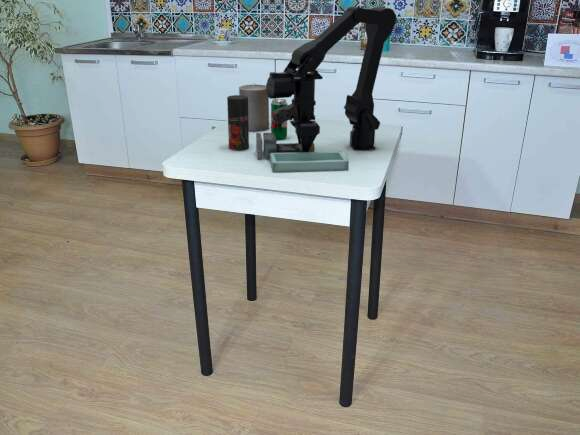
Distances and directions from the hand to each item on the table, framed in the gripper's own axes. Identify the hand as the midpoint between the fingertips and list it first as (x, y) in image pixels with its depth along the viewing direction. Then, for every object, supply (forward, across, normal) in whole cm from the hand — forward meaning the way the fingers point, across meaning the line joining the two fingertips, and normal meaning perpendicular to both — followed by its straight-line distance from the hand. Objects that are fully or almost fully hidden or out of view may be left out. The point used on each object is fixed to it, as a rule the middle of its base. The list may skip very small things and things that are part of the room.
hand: (302, 150), depth 157 cm
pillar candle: (+1, -31, -12) cm, 33 cm away
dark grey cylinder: (+1, 0, -4) cm, 4 cm away
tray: (+1, +10, 0) cm, 11 cm away
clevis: (+1, 0, -11) cm, 11 cm away
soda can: (+1, -18, -5) cm, 19 cm away
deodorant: (+1, -8, -18) cm, 20 cm away
